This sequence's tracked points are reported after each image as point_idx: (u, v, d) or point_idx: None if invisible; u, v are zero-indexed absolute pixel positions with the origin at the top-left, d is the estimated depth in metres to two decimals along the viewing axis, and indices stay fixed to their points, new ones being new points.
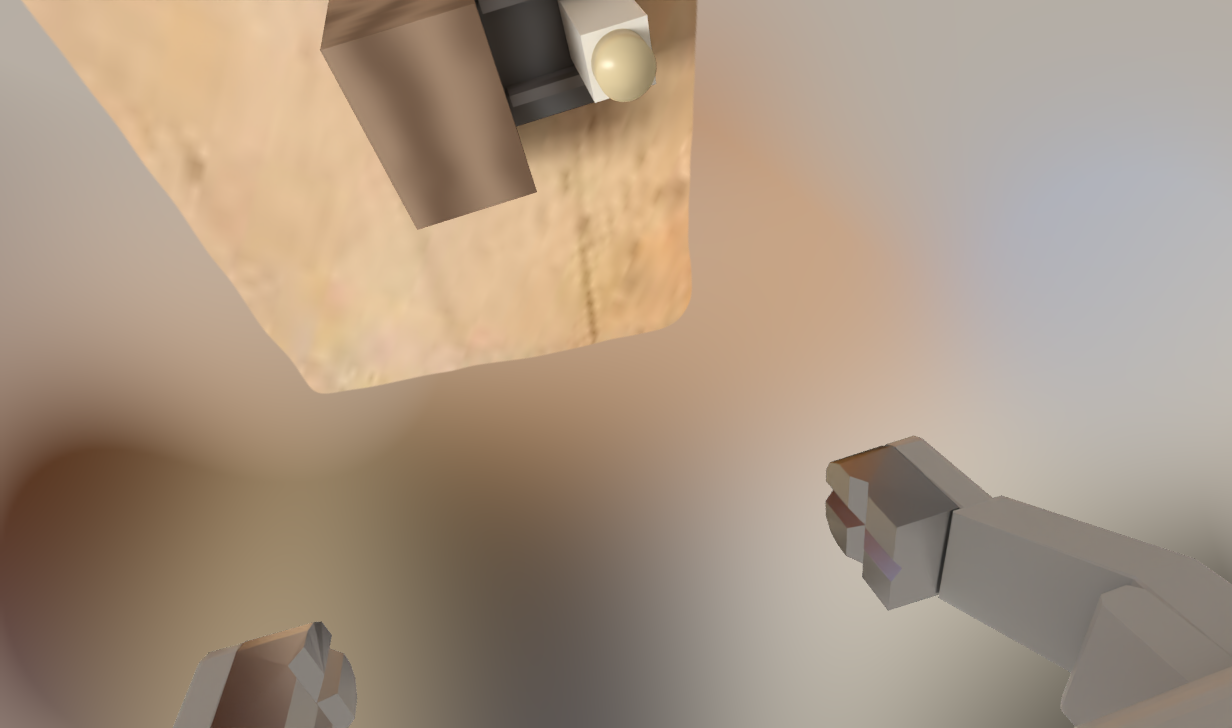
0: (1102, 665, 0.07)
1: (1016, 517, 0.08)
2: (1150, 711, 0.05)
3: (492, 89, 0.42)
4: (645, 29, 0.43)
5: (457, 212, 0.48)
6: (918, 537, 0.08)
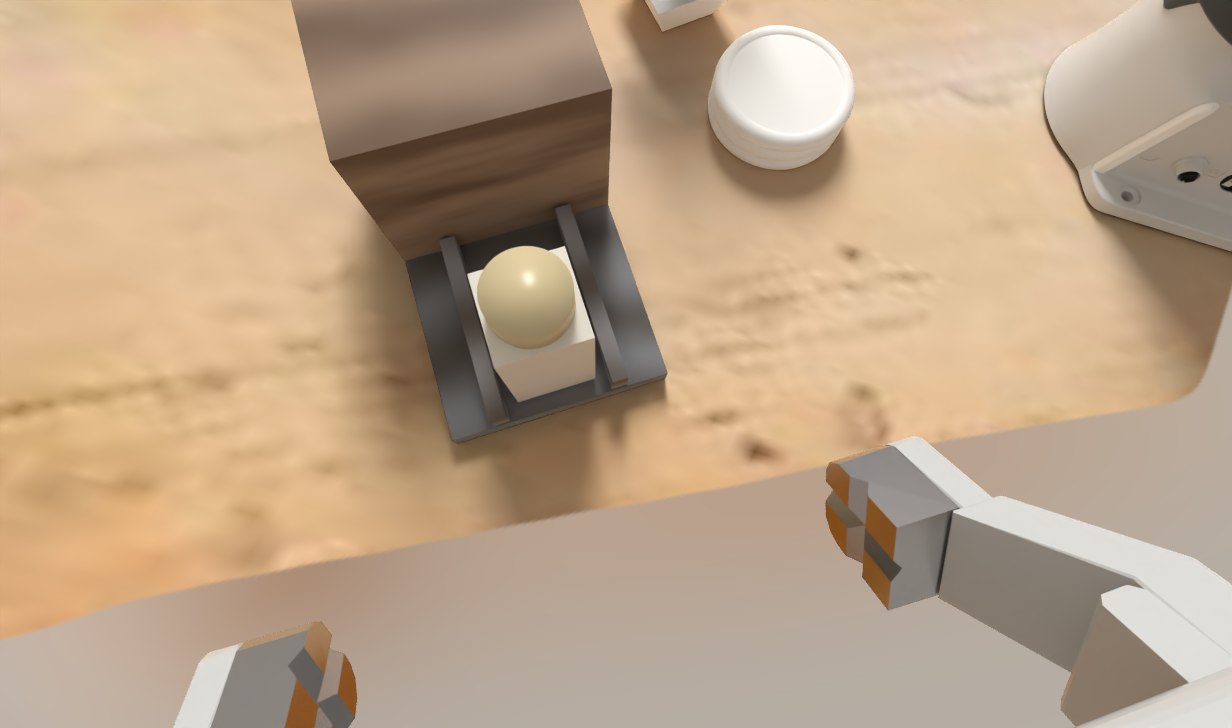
0: (1102, 665, 0.07)
1: (1016, 517, 0.08)
2: (1150, 711, 0.05)
3: (503, 103, 0.29)
4: (575, 338, 0.29)
5: (311, 47, 0.30)
6: (918, 537, 0.08)
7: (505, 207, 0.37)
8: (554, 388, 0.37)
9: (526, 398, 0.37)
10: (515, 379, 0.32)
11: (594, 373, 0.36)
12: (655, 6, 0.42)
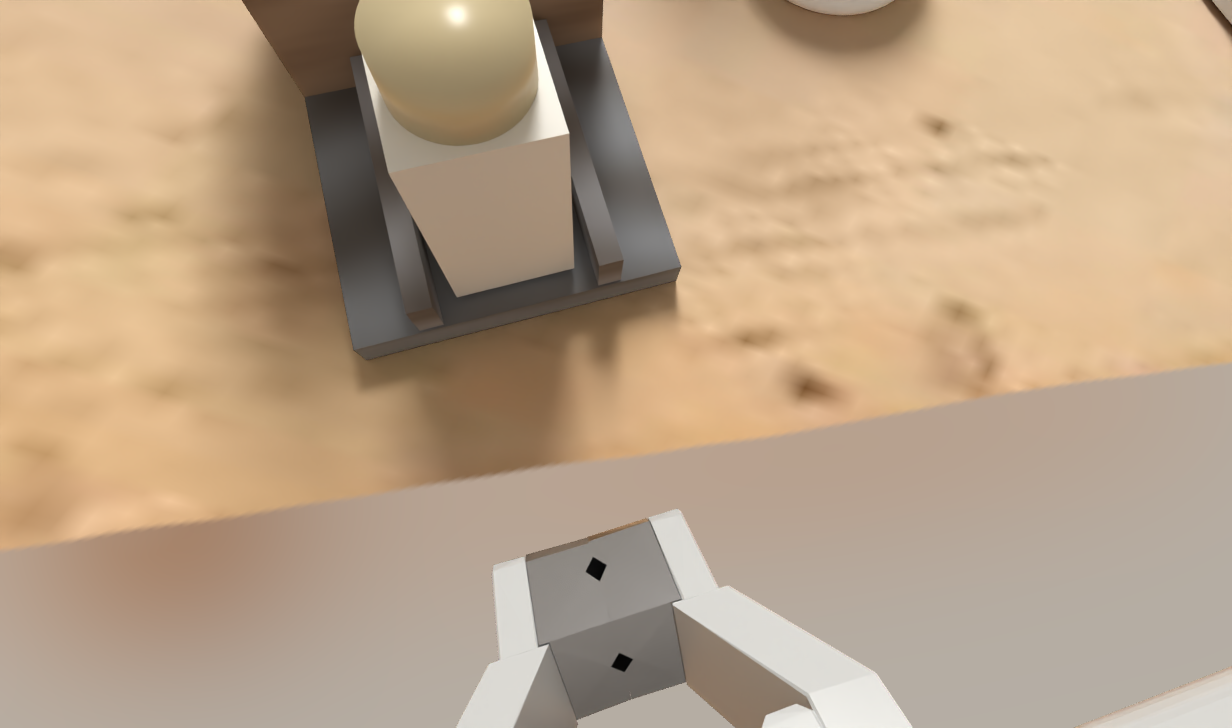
0: None
1: (728, 613, 0.07)
2: (1150, 711, 0.05)
3: None
4: (535, 132, 0.17)
5: None
6: (641, 629, 0.08)
7: None
8: (511, 276, 0.24)
9: (468, 290, 0.24)
10: (439, 227, 0.19)
11: (572, 253, 0.24)
12: None
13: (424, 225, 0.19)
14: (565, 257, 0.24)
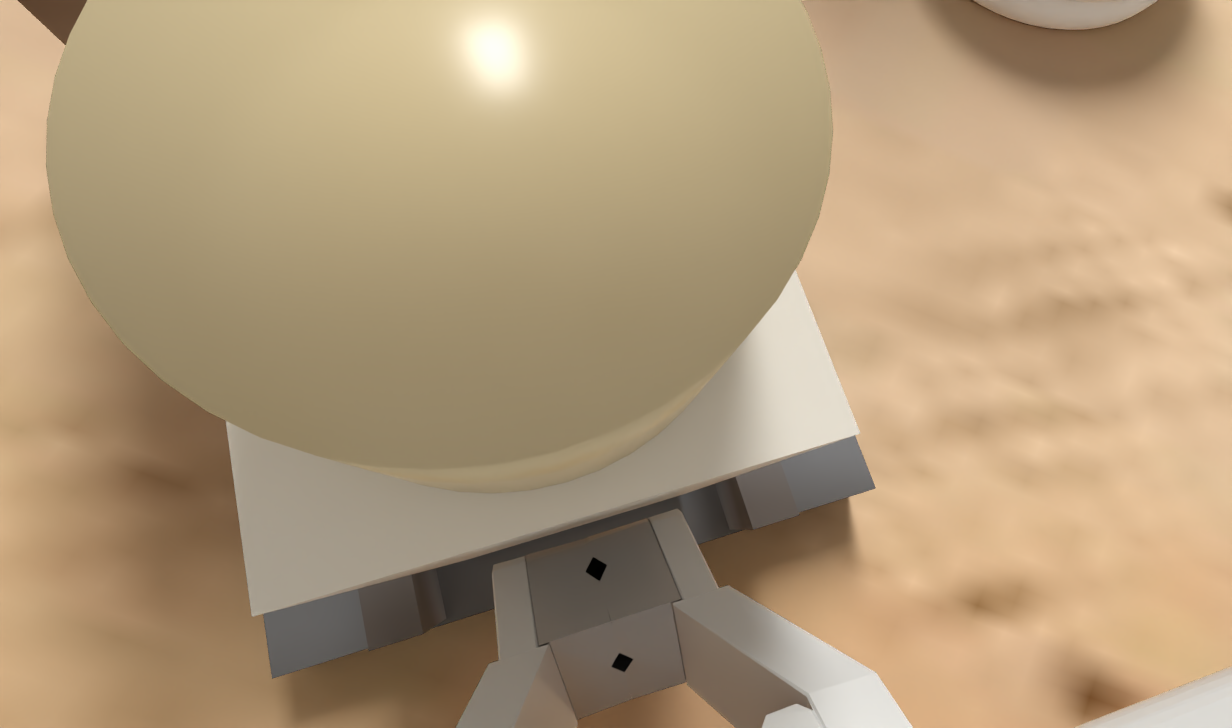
0: None
1: (728, 613, 0.07)
2: (1150, 711, 0.05)
3: None
4: (750, 433, 0.05)
5: None
6: (641, 629, 0.08)
7: None
8: (574, 526, 0.13)
9: None
10: (435, 566, 0.08)
11: (694, 490, 0.12)
12: None
13: (397, 577, 0.07)
14: None
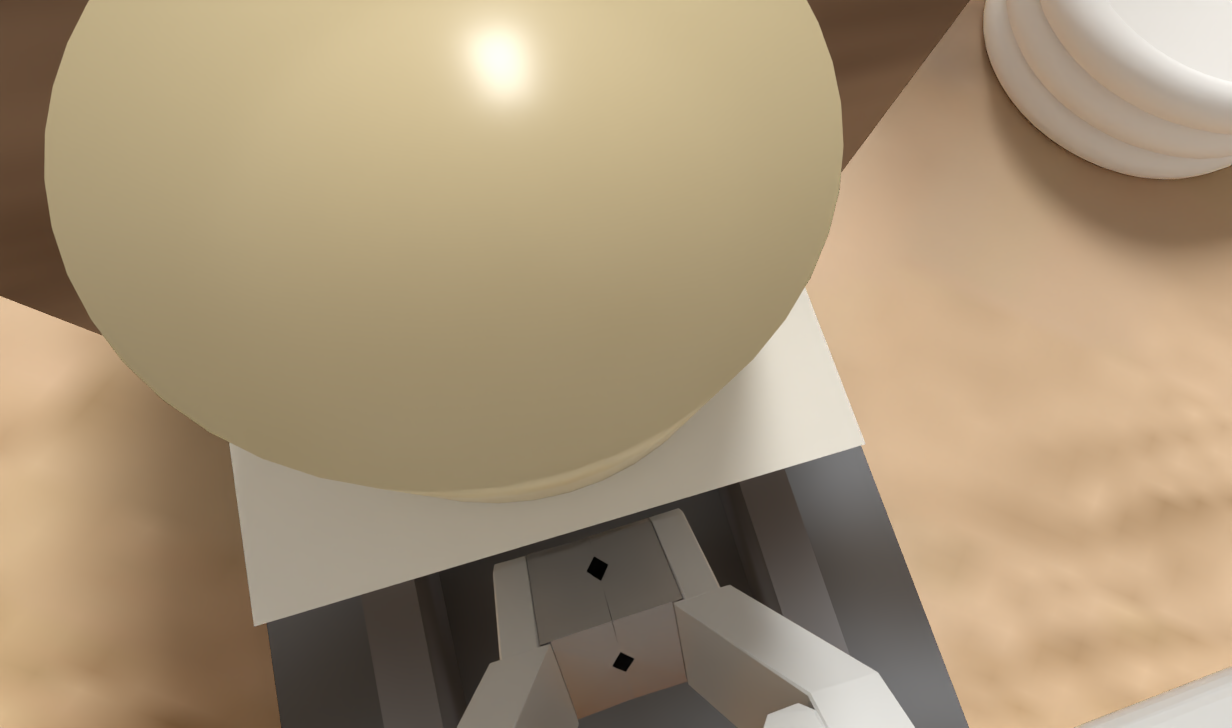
0: None
1: (730, 613, 0.07)
2: (1150, 711, 0.05)
3: None
4: (755, 443, 0.05)
5: None
6: (643, 628, 0.08)
7: None
8: None
9: None
10: None
11: None
12: None
13: None
14: None
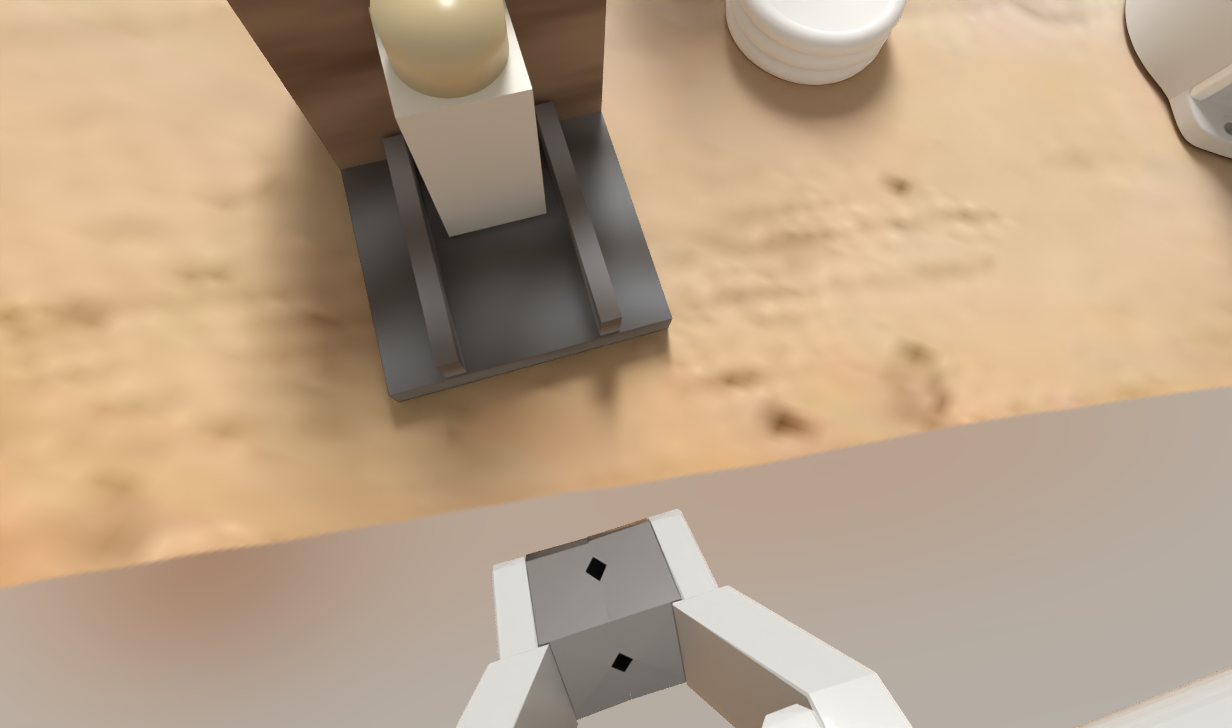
0: None
1: (728, 613, 0.07)
2: (1150, 711, 0.05)
3: None
4: (506, 88, 0.22)
5: None
6: (641, 629, 0.08)
7: None
8: (494, 218, 0.30)
9: (459, 230, 0.30)
10: (434, 168, 0.25)
11: (543, 198, 0.29)
12: None
13: (422, 166, 0.24)
14: (538, 202, 0.29)
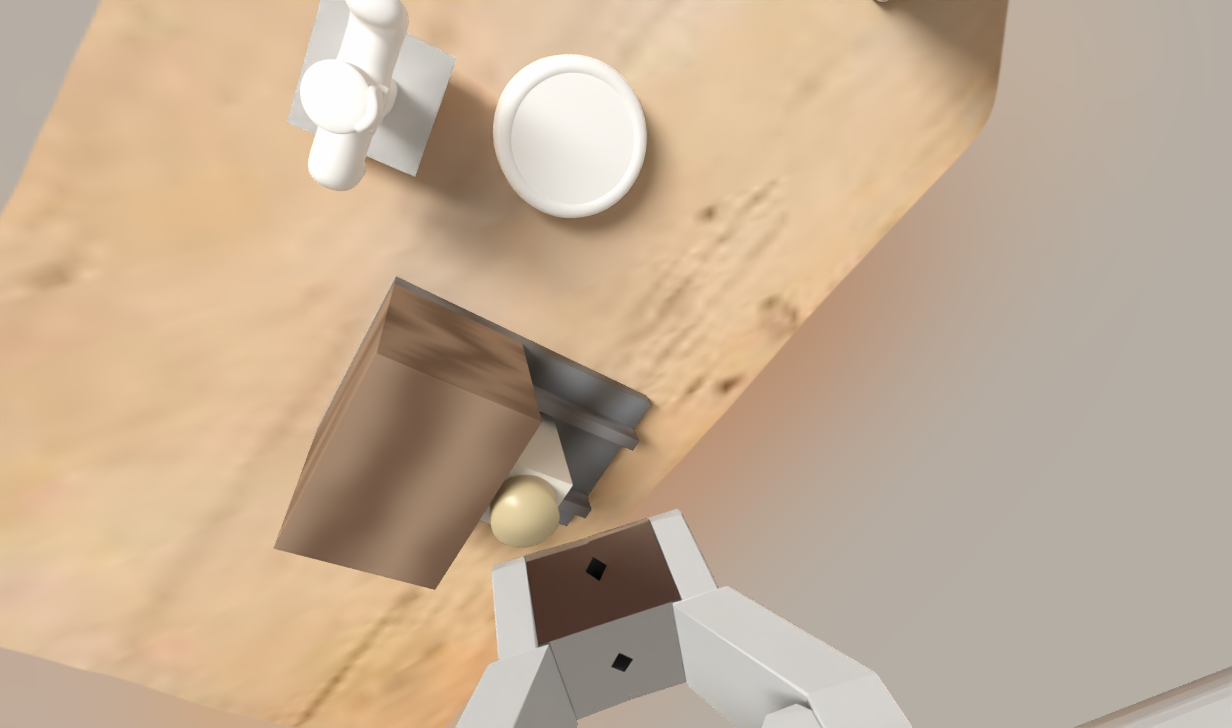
0: None
1: (728, 613, 0.07)
2: (1150, 711, 0.05)
3: (488, 486, 0.37)
4: (562, 493, 0.41)
5: (337, 559, 0.36)
6: (641, 629, 0.08)
7: None
8: None
9: None
10: None
11: (555, 427, 0.47)
12: (404, 170, 0.36)
13: None
14: None
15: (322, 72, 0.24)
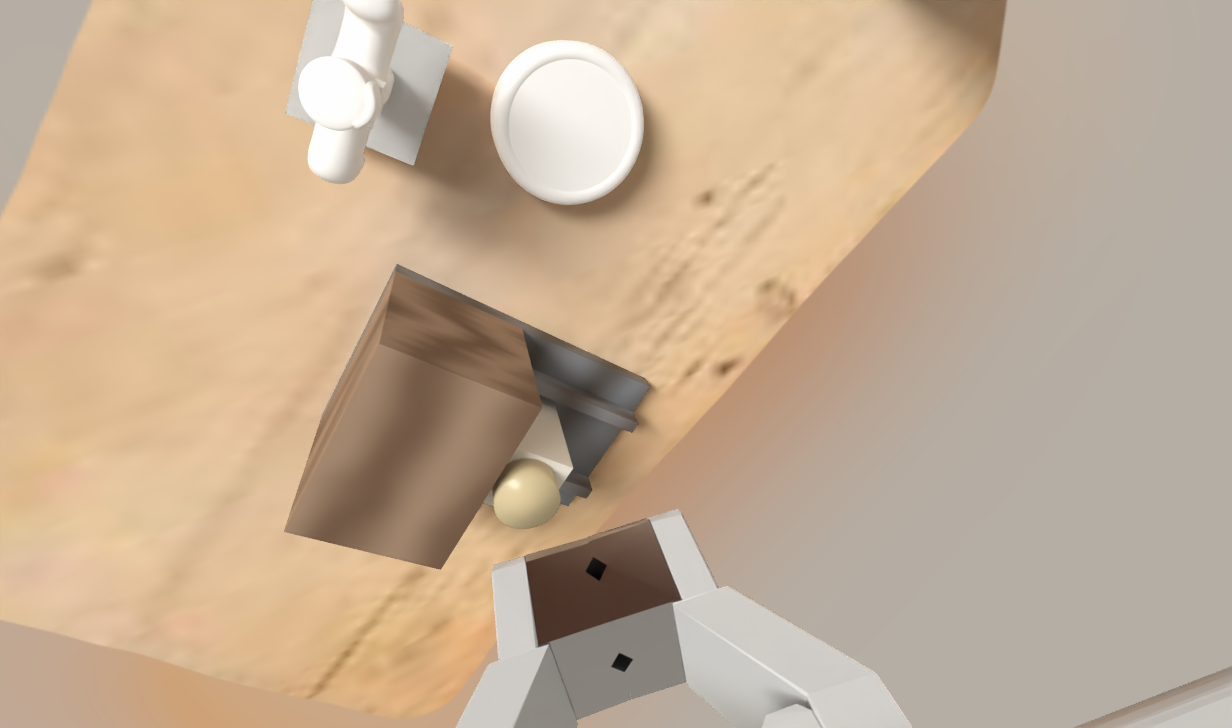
0: None
1: (728, 613, 0.07)
2: (1150, 711, 0.05)
3: (490, 470, 0.38)
4: (563, 476, 0.42)
5: (345, 541, 0.38)
6: (641, 629, 0.08)
7: None
8: None
9: None
10: None
11: (556, 411, 0.48)
12: (403, 159, 0.37)
13: None
14: None
15: (320, 69, 0.24)
